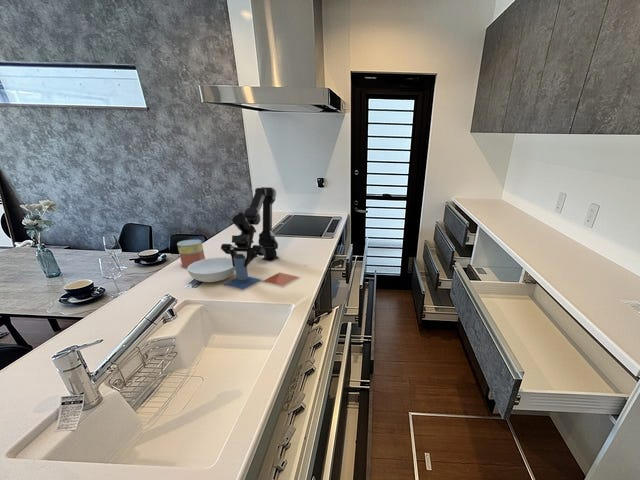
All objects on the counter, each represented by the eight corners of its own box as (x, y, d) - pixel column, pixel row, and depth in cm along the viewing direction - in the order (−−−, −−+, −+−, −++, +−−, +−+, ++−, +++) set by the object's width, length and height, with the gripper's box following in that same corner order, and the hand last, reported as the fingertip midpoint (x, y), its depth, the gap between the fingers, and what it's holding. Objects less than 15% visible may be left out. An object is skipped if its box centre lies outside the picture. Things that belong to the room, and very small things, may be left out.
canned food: (184, 261, 165) (179, 240, 160) (207, 259, 168) (203, 238, 163) (179, 268, 155) (174, 246, 150) (204, 266, 158) (199, 244, 154)
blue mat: (223, 285, 138) (223, 284, 138) (243, 276, 149) (243, 275, 148) (243, 290, 134) (242, 289, 134) (262, 280, 144) (262, 279, 144)
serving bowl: (182, 288, 134) (179, 274, 132) (199, 270, 153) (196, 257, 151) (232, 286, 138) (230, 272, 135) (242, 269, 157) (240, 256, 154)
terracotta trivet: (262, 282, 143) (262, 281, 143) (279, 273, 153) (279, 272, 153) (282, 287, 138) (282, 286, 138) (298, 277, 148) (298, 277, 148)
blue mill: (235, 277, 141) (231, 254, 136) (246, 274, 143) (243, 252, 139) (238, 280, 137) (234, 257, 133) (249, 278, 140) (246, 255, 135)
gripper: (219, 226, 135) (209, 258, 130) (259, 228, 134) (252, 260, 129) (230, 238, 146) (222, 268, 140) (268, 240, 145) (261, 270, 139)
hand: (239, 266), depth 137 cm, fingers closed on blue mill, 5 cm apart
